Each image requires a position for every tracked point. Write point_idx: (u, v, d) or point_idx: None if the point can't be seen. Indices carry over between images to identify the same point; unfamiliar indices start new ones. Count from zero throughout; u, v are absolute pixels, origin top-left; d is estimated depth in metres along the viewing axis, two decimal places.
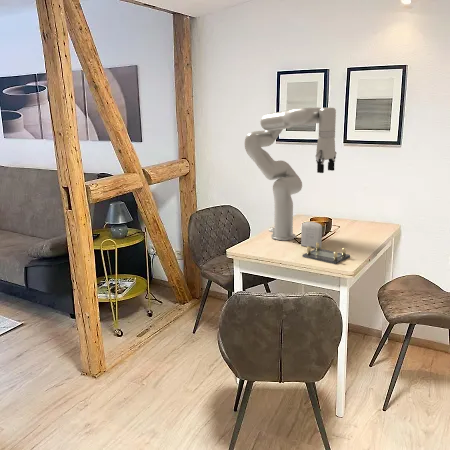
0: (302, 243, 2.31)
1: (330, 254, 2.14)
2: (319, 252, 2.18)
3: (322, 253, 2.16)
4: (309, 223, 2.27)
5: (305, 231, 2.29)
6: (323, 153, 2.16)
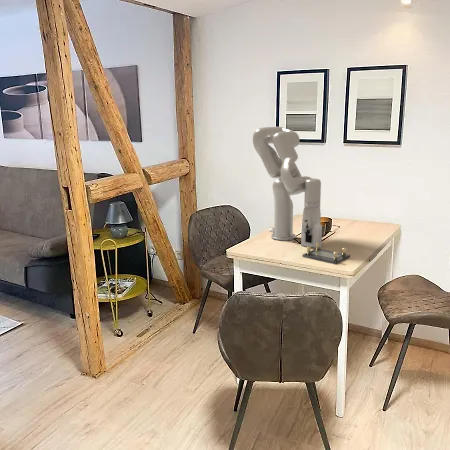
0: (302, 243, 2.31)
1: (330, 254, 2.14)
2: (319, 252, 2.18)
3: (322, 253, 2.16)
4: None
5: None
6: (308, 223, 2.23)
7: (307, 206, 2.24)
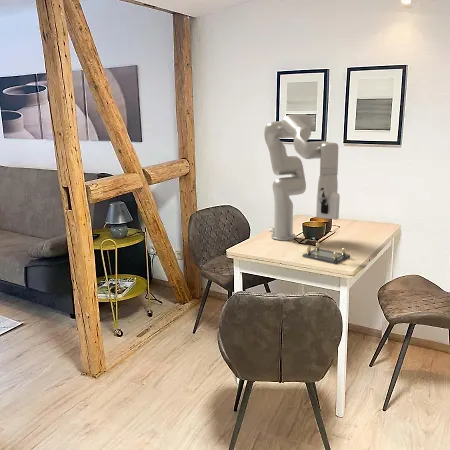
0: (317, 214, 2.10)
1: (330, 254, 2.14)
2: (319, 252, 2.18)
3: (322, 253, 2.16)
4: None
5: None
6: (325, 191, 2.03)
7: (323, 173, 2.03)
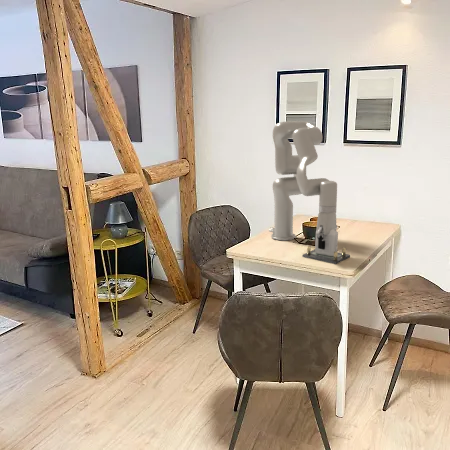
0: (316, 251, 2.15)
1: None
2: None
3: None
4: None
5: None
6: (324, 229, 2.07)
7: (322, 210, 2.07)
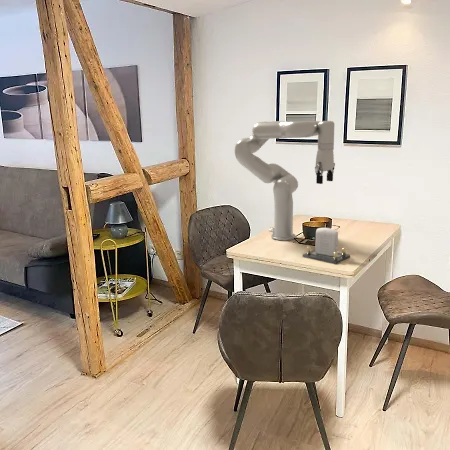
0: (316, 251, 2.15)
1: None
2: None
3: None
4: (324, 229, 2.11)
5: (319, 238, 2.12)
6: (322, 165, 2.25)
7: (321, 148, 2.25)
